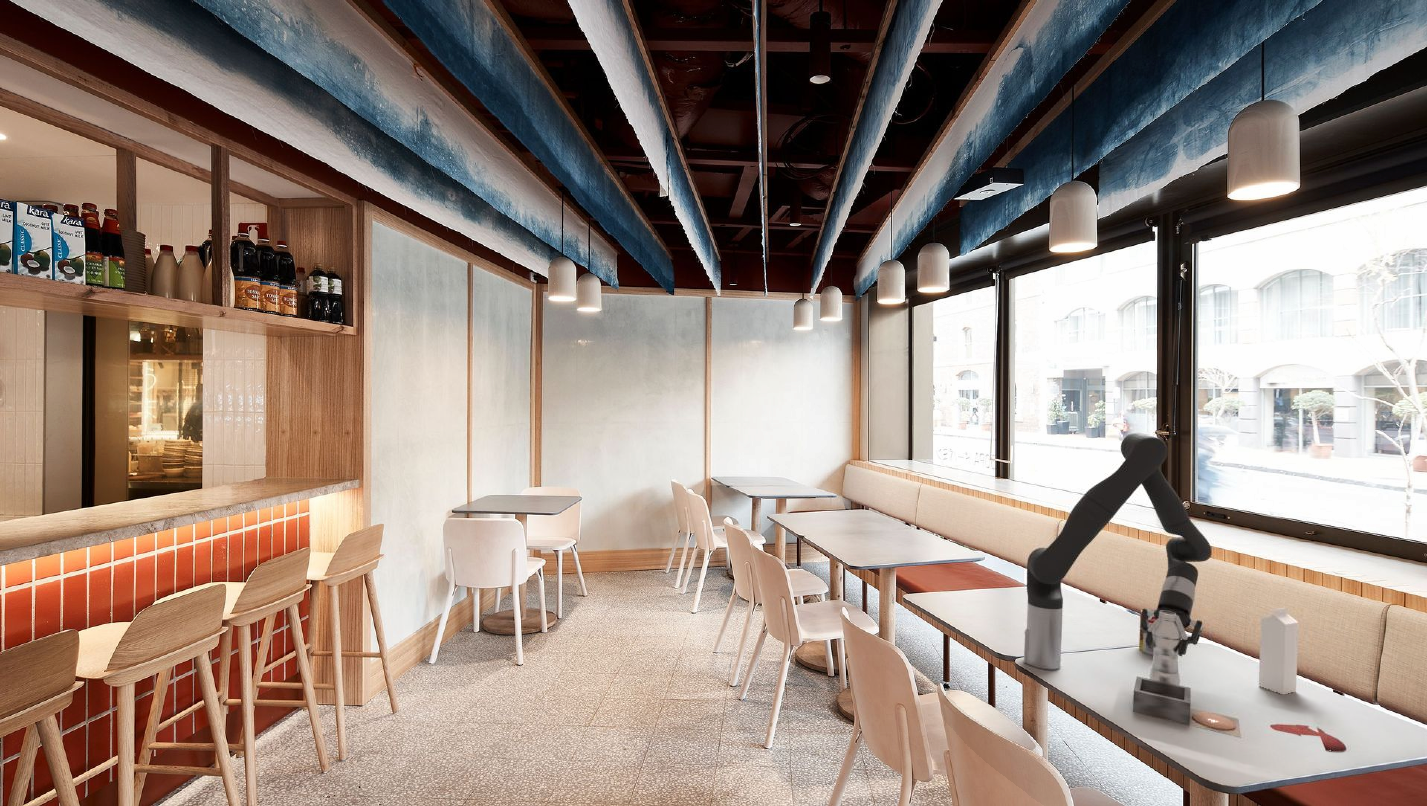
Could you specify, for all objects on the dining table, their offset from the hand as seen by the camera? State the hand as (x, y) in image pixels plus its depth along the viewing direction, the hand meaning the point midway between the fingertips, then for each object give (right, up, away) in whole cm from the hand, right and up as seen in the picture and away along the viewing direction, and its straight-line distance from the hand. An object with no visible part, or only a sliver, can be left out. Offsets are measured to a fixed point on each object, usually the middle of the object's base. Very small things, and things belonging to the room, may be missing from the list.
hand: (1164, 650), depth 183 cm
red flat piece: (+17, -14, -20) cm, 30 cm away
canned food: (+19, -13, +35) cm, 43 cm away
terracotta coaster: (+1, -11, -17) cm, 20 cm away
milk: (+36, -14, +8) cm, 39 cm away
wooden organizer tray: (-4, -12, -14) cm, 19 cm away
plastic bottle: (+1, -11, +1) cm, 11 cm away
